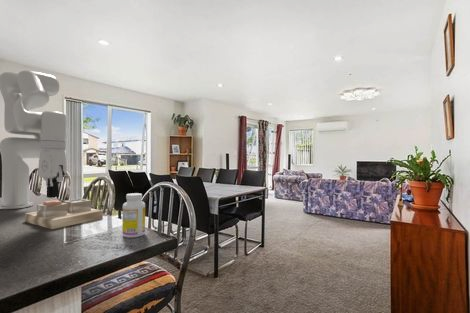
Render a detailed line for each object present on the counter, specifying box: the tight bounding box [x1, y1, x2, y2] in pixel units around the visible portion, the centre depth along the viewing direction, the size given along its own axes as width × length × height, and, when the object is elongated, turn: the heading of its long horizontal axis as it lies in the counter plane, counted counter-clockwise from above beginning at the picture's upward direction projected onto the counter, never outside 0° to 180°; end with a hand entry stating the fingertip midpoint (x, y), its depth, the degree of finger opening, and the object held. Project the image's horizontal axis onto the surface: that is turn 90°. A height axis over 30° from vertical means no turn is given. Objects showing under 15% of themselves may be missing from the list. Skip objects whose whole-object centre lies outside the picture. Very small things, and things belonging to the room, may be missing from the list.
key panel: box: [24, 198, 104, 230], centre depth 98 cm, size 18×18×7 cm
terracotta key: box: [42, 199, 63, 206], centre depth 94 cm, size 4×4×3 cm
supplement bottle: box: [121, 192, 146, 239], centre depth 82 cm, size 7×7×13 cm
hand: (52, 197), depth 94 cm, fingers closed
